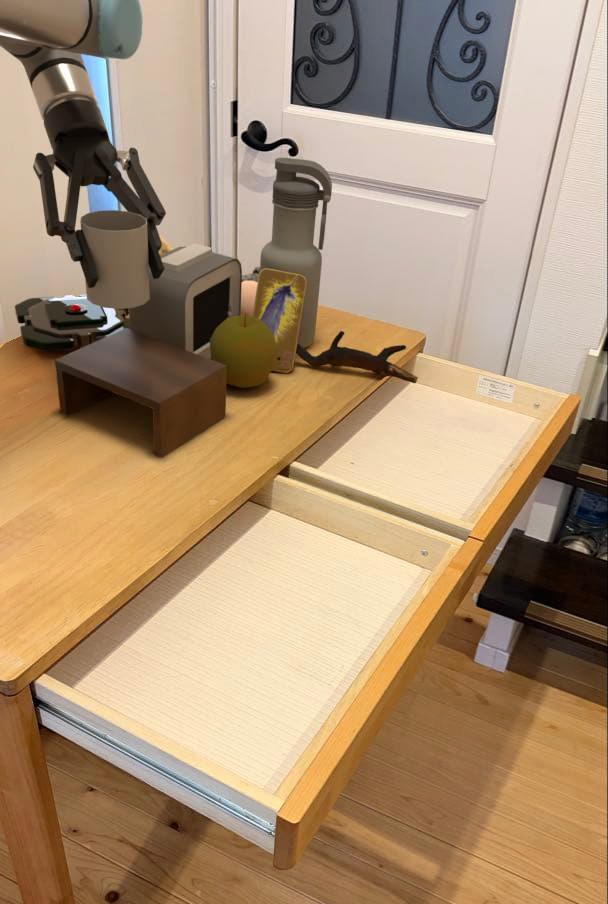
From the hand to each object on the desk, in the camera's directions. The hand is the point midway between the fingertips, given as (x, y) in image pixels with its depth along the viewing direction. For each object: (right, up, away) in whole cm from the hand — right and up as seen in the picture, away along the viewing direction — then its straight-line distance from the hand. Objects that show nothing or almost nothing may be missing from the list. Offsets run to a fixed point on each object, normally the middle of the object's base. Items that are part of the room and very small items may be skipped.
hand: (126, 278), depth 106 cm
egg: (+12, +11, +36) cm, 40 cm away
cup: (-2, -1, +4) cm, 5 cm away
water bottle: (+20, 0, +32) cm, 38 cm away
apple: (+14, -10, +19) cm, 25 cm away
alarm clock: (+3, -3, +26) cm, 26 cm away
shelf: (0, -16, +9) cm, 19 cm away
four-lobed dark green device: (-14, 0, +28) cm, 32 cm away
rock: (+18, +8, +45) cm, 49 cm away
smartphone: (+20, +7, +19) cm, 29 cm away
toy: (+31, -2, +24) cm, 40 cm away
